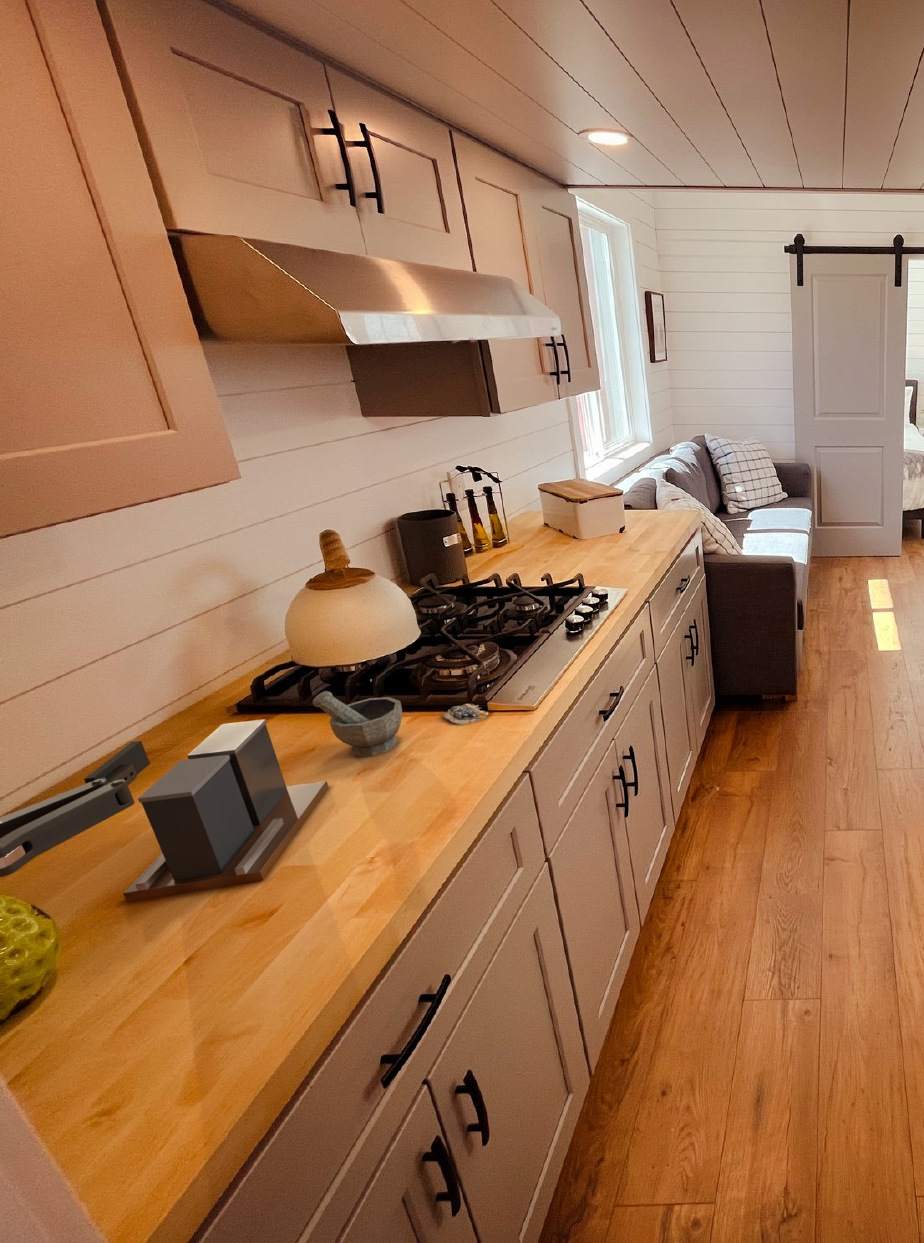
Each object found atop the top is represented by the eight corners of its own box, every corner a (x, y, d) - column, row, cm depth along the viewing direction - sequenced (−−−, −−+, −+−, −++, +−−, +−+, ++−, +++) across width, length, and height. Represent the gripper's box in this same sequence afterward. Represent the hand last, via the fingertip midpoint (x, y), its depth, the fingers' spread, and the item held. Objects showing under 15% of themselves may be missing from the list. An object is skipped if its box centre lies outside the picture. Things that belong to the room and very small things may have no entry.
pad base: (126, 903, 83) (84, 810, 79) (219, 803, 101) (189, 723, 97) (263, 881, 87) (231, 791, 82) (329, 788, 105) (305, 710, 100)
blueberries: (461, 704, 130) (459, 695, 129) (499, 708, 129) (497, 699, 128) (434, 722, 124) (432, 713, 123) (475, 727, 122) (473, 717, 122)
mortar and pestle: (401, 726, 122) (386, 665, 118) (416, 746, 116) (401, 683, 112) (324, 750, 115) (304, 686, 111) (336, 774, 109) (316, 706, 104)
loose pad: (172, 881, 85) (137, 798, 81) (210, 838, 92) (180, 760, 88) (222, 873, 86) (191, 791, 82) (256, 831, 94) (229, 754, 89)
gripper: (-397, 1008, 47) (-93, 815, 66) (66, 932, 53) (220, 776, 72) (-470, 923, 44) (-132, 747, 63) (26, 853, 51) (197, 713, 70)
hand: (56, 762), depth 68 cm, fingers open, 13 cm apart
